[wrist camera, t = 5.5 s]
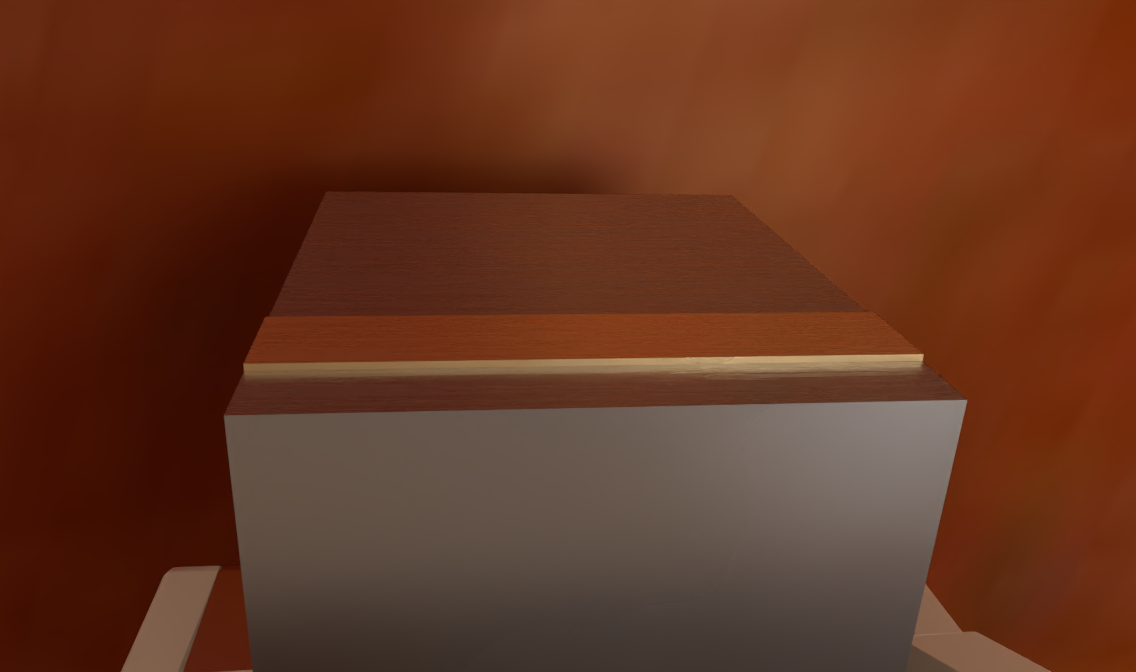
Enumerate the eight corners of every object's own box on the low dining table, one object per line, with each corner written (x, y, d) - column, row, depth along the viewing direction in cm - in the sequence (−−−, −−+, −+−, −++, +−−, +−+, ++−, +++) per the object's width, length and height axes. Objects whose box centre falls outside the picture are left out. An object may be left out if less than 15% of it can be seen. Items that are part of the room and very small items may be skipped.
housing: (731, 190, 11) (968, 393, 6) (672, 732, 14) (796, 1152, 9) (325, 186, 10) (221, 408, 5) (360, 753, 13) (314, 1215, 8)
